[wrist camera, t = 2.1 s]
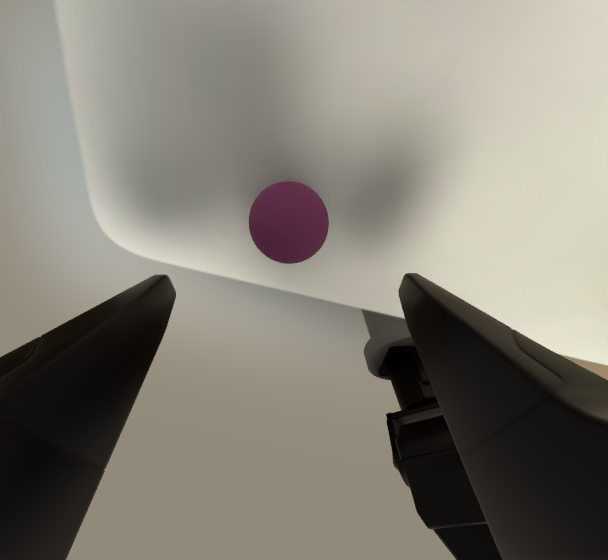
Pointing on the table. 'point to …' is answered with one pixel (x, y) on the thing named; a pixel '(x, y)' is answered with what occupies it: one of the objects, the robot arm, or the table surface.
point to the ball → (288, 222)
